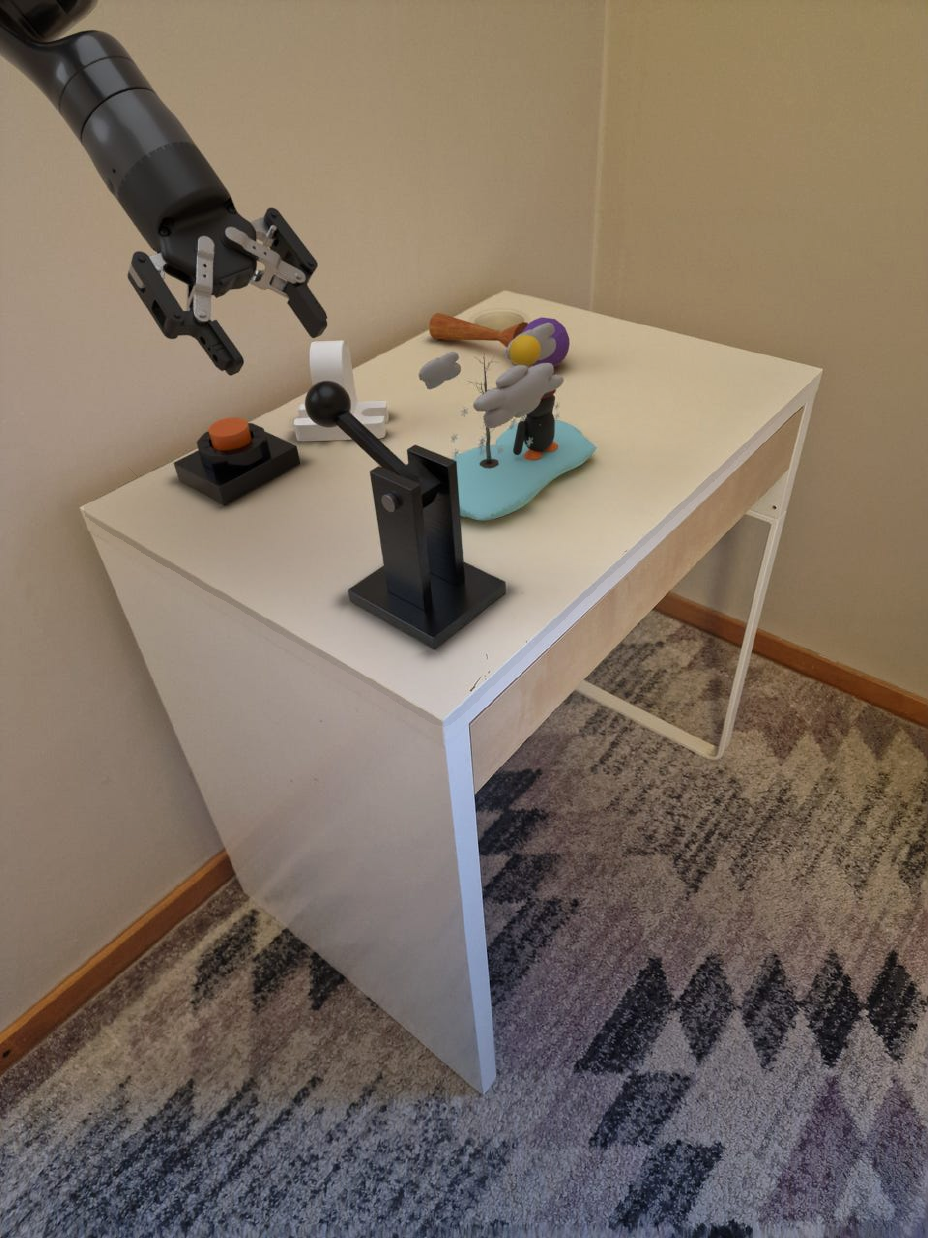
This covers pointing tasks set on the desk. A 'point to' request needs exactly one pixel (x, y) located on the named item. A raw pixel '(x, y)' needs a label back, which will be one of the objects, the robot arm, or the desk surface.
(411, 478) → the lever
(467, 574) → the switch bracket
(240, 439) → the button
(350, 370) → the white mounting bracket
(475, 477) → the penguin figurine
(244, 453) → the button housing
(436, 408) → the desk surface
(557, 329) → the kendama
